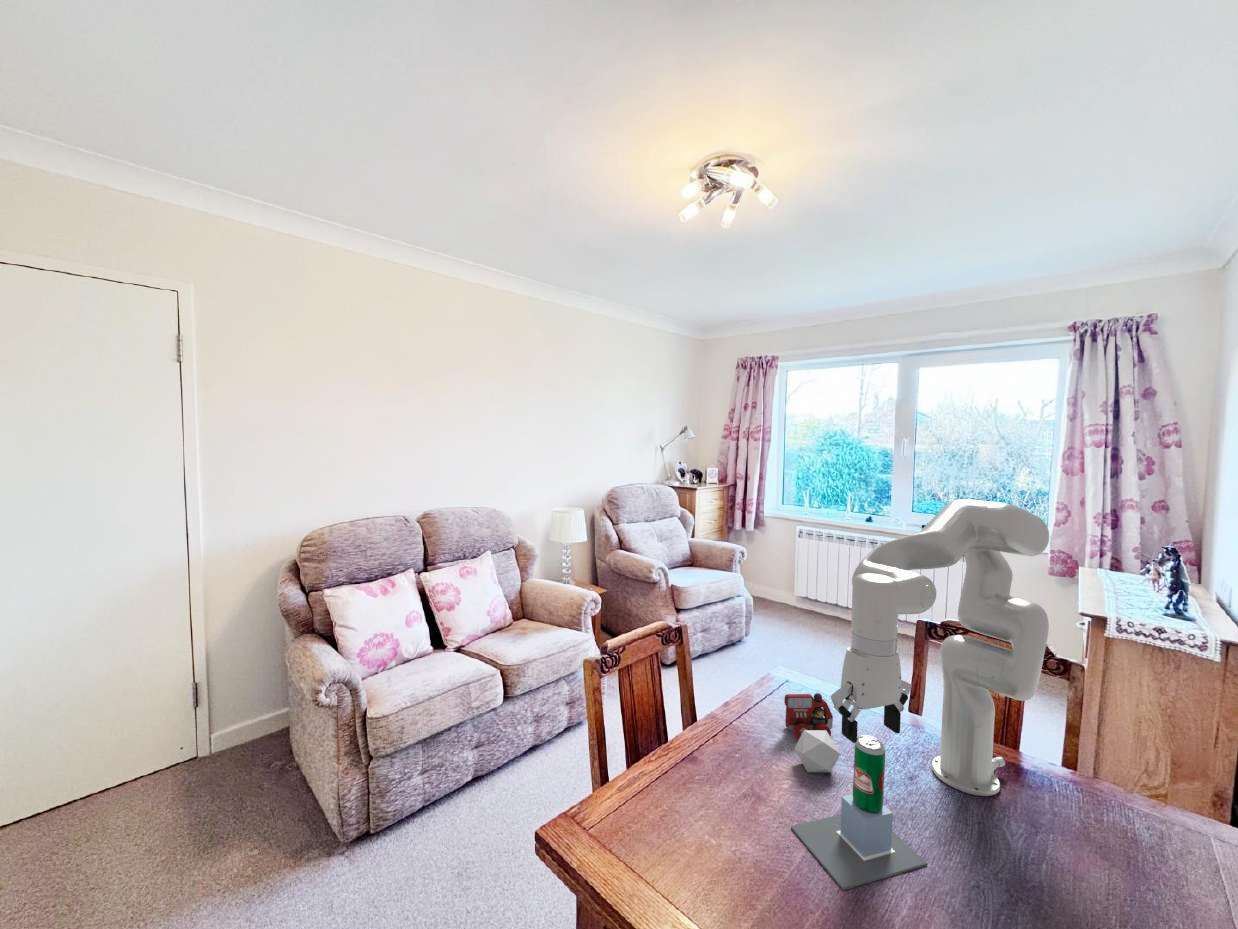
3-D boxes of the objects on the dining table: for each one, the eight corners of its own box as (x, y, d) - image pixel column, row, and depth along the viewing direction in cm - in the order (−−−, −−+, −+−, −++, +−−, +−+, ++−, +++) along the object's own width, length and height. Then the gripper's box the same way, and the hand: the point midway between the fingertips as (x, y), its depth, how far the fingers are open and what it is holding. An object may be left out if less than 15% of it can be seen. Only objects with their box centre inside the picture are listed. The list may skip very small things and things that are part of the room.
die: (833, 790, 110) (852, 746, 113) (796, 765, 111) (816, 722, 114) (818, 779, 118) (836, 738, 121) (783, 756, 119) (802, 716, 122)
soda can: (846, 799, 95) (848, 737, 95) (865, 792, 97) (868, 731, 97) (869, 818, 91) (871, 752, 90) (889, 810, 93) (892, 746, 92)
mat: (866, 809, 103) (866, 807, 103) (927, 865, 90) (927, 862, 90) (791, 828, 98) (791, 826, 98) (843, 890, 84) (843, 887, 84)
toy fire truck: (838, 742, 127) (839, 701, 126) (789, 743, 126) (791, 702, 125) (825, 726, 134) (826, 687, 133) (779, 727, 133) (780, 688, 132)
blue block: (866, 826, 98) (867, 791, 98) (891, 850, 92) (892, 812, 92) (840, 832, 96) (841, 796, 96) (864, 857, 91) (865, 819, 90)
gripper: (894, 630, 99) (891, 715, 100) (820, 640, 94) (817, 730, 95) (928, 645, 92) (924, 737, 93) (849, 657, 86) (846, 755, 87)
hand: (870, 733), depth 94 cm, fingers open, 9 cm apart
